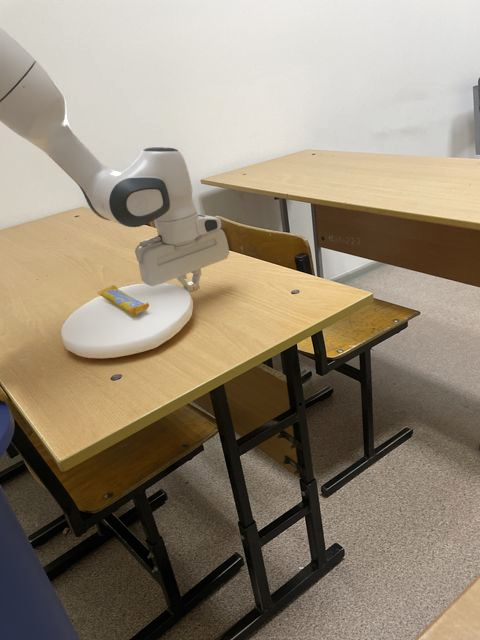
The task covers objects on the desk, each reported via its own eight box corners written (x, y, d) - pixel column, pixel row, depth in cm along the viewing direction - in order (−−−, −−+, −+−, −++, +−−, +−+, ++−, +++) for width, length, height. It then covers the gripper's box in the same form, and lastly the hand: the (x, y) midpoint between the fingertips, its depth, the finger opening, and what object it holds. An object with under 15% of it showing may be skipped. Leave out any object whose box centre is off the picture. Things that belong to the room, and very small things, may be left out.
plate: (167, 339, 93) (31, 348, 98) (176, 369, 96) (45, 375, 102) (202, 265, 115) (90, 276, 120) (208, 291, 119) (100, 300, 124)
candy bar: (152, 310, 102) (150, 302, 101) (133, 318, 100) (130, 310, 99) (116, 291, 114) (114, 283, 113) (98, 297, 112) (96, 289, 111)
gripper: (139, 246, 101) (157, 311, 108) (227, 217, 111) (237, 278, 118) (126, 241, 106) (143, 304, 113) (211, 213, 116) (222, 272, 123)
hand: (192, 290), depth 115 cm, fingers closed
